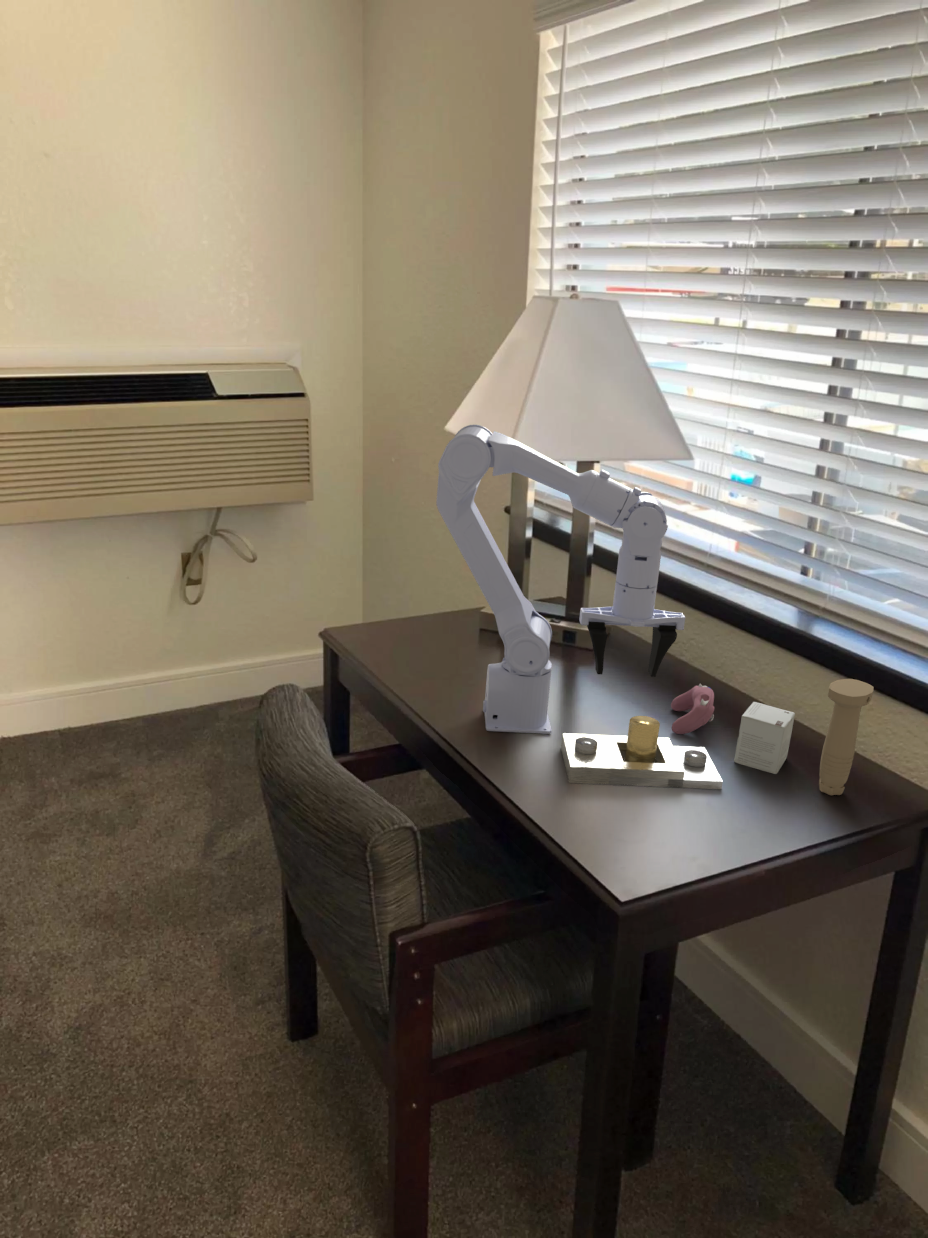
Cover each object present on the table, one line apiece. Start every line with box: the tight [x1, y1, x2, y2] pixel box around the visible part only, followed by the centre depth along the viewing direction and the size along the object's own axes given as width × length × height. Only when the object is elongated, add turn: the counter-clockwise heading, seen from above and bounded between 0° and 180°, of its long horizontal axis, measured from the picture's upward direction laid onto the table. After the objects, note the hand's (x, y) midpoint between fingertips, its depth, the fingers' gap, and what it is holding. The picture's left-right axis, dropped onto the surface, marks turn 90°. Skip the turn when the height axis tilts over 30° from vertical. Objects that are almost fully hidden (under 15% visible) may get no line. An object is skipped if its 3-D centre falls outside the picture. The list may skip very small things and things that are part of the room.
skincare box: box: [733, 701, 796, 775], centre depth 138 cm, size 6×6×7 cm
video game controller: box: [670, 683, 715, 735], centre depth 149 cm, size 10×5×7 cm, turn 169°
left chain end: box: [560, 732, 685, 785], centre depth 135 cm, size 15×10×4 cm, turn 91°
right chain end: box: [609, 745, 723, 790], centre depth 135 cm, size 15×10×2 cm, turn 91°
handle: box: [818, 678, 874, 796], centre depth 130 cm, size 5×6×15 cm
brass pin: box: [623, 715, 661, 763], centre depth 134 cm, size 4×4×7 cm
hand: (625, 673), depth 142 cm, fingers open, 7 cm apart
